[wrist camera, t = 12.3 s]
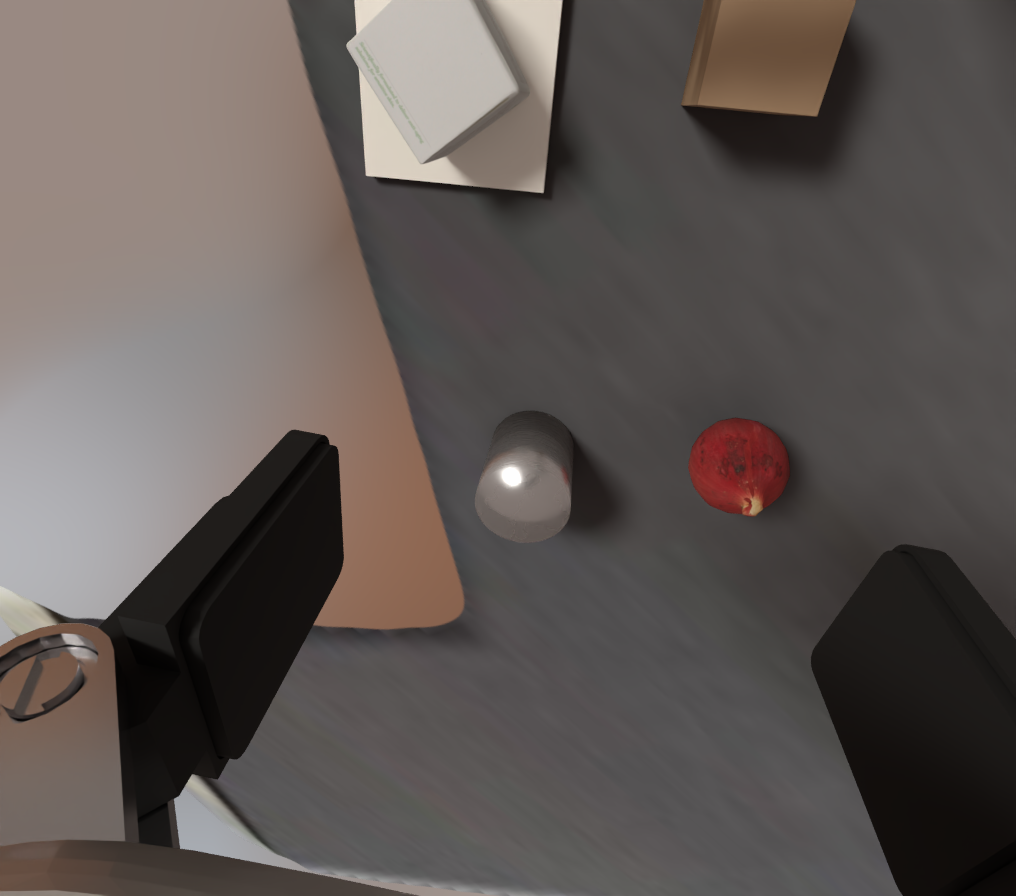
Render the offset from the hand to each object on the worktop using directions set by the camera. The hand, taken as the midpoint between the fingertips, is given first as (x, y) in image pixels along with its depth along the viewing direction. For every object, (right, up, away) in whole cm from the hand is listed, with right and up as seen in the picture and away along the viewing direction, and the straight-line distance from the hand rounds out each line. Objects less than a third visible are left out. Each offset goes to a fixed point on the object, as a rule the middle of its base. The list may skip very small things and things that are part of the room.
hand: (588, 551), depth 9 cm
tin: (0, +2, +30) cm, 30 cm away
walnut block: (+10, +21, +16) cm, 28 cm away
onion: (+13, +3, +27) cm, 31 cm away
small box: (-4, +21, +18) cm, 28 cm away
